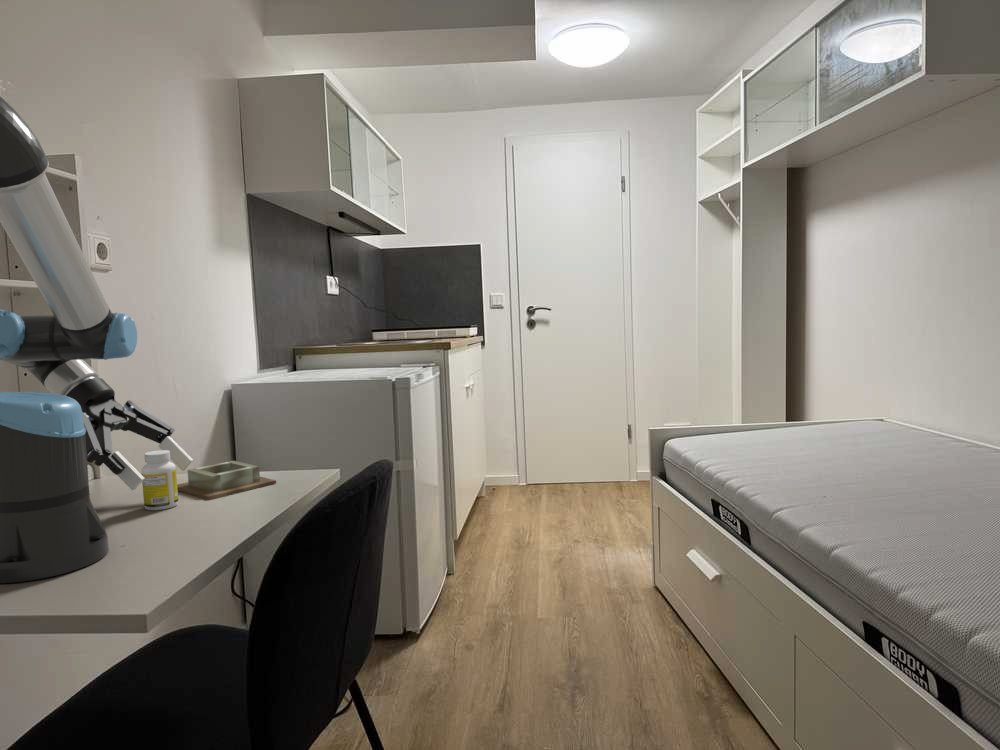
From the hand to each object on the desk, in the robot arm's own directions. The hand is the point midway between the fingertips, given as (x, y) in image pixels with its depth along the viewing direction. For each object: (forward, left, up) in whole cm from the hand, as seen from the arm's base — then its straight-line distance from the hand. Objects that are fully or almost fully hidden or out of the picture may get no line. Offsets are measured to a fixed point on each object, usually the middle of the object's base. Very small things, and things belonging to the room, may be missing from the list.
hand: (164, 474), depth 116 cm
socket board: (+13, +4, -6) cm, 15 cm away
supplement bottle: (-1, 0, -6) cm, 6 cm away
